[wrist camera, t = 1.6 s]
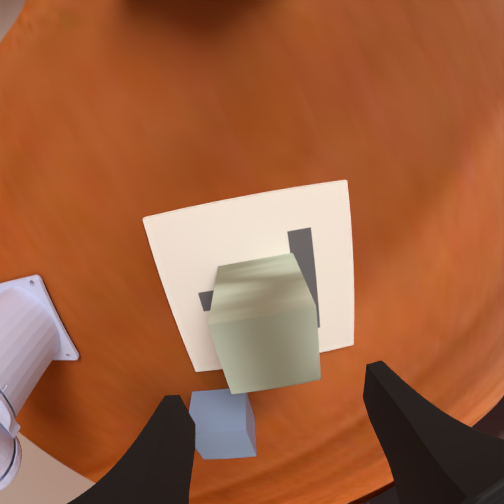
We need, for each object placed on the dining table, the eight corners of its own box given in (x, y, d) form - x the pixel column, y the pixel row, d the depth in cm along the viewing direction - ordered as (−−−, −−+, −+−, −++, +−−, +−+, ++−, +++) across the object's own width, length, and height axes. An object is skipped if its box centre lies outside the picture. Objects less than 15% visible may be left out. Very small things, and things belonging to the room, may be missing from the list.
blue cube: (206, 420, 24) (203, 459, 19) (192, 391, 22) (185, 433, 18) (254, 416, 23) (256, 456, 19) (245, 385, 22) (246, 429, 18)
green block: (233, 326, 19) (231, 394, 13) (217, 266, 17) (207, 324, 12) (300, 315, 19) (320, 379, 13) (292, 252, 17) (316, 306, 12)
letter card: (196, 368, 21) (195, 372, 20) (144, 217, 16) (142, 219, 16) (351, 341, 20) (353, 345, 20) (344, 179, 16) (347, 180, 16)
